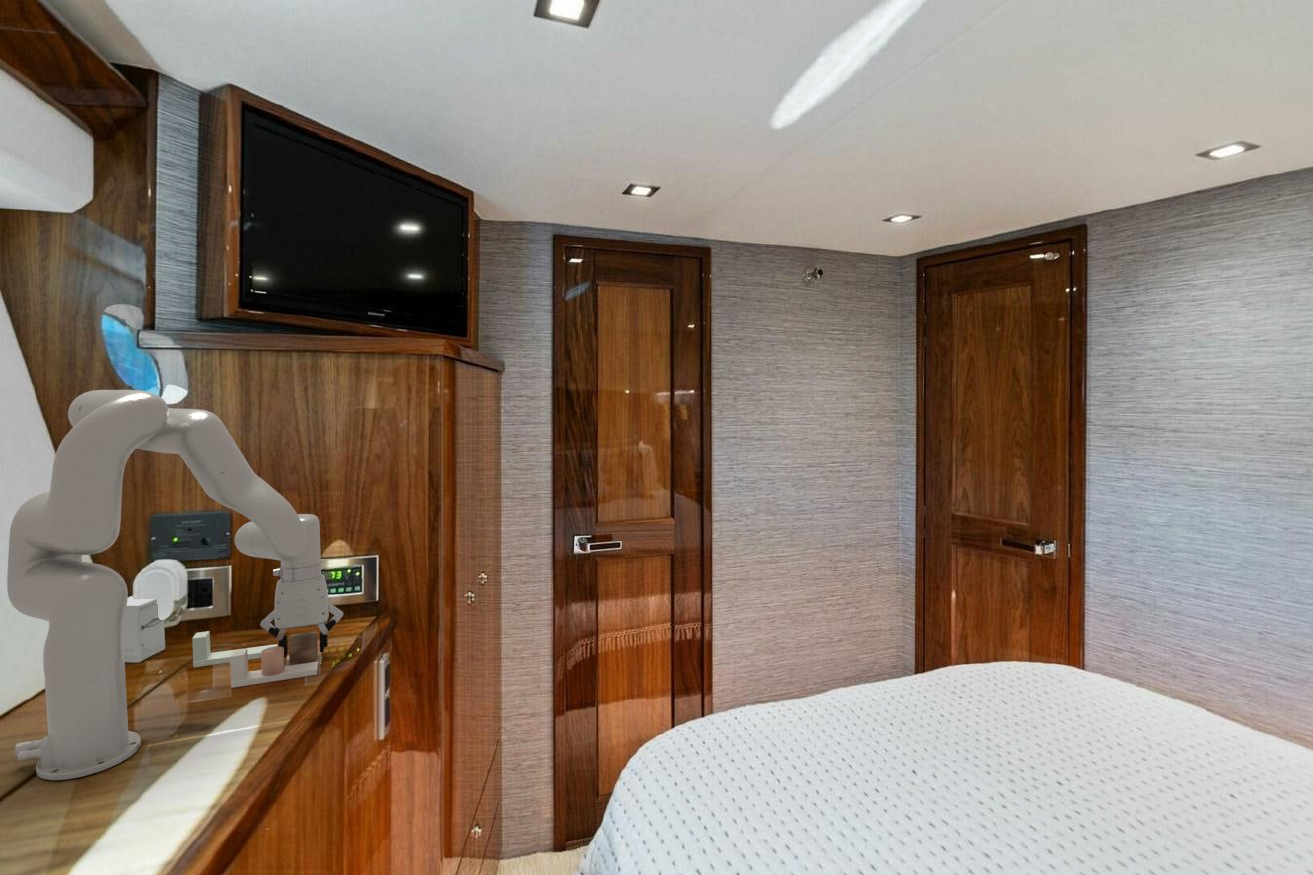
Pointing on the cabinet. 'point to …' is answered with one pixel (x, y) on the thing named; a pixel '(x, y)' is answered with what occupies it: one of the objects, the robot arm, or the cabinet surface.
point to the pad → (319, 660)
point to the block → (303, 648)
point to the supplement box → (142, 630)
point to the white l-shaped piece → (206, 658)
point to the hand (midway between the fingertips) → (303, 652)
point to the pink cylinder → (272, 661)
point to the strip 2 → (244, 677)
